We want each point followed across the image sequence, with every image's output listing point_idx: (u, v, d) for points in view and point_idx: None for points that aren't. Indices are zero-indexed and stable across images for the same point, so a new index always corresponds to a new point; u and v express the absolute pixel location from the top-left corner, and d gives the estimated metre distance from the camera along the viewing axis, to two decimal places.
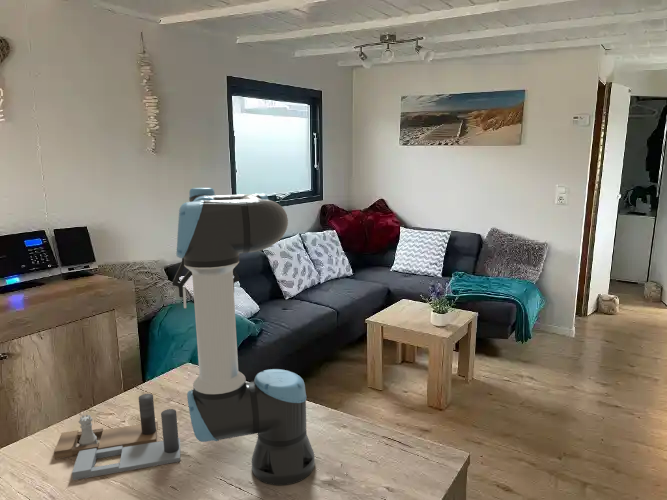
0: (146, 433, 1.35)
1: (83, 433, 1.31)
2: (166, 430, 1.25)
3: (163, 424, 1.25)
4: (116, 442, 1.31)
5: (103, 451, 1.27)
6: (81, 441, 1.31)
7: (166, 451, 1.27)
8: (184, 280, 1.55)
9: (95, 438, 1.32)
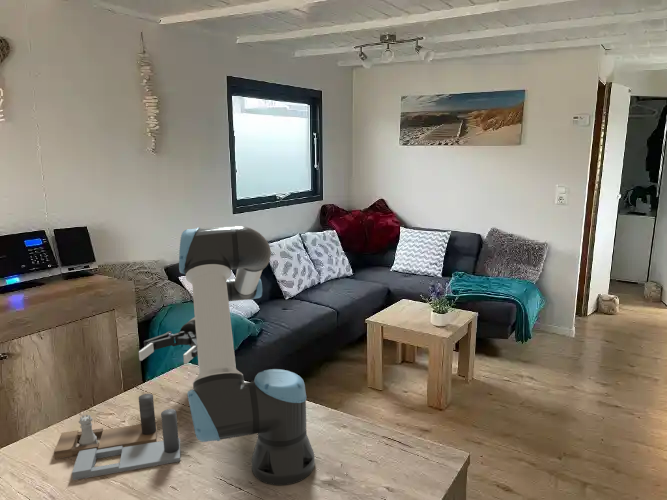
0: (146, 433, 1.35)
1: (83, 433, 1.31)
2: (166, 430, 1.25)
3: (163, 424, 1.25)
4: (116, 442, 1.31)
5: (103, 451, 1.27)
6: (81, 441, 1.31)
7: (166, 451, 1.27)
8: (156, 340, 1.52)
9: (95, 438, 1.32)
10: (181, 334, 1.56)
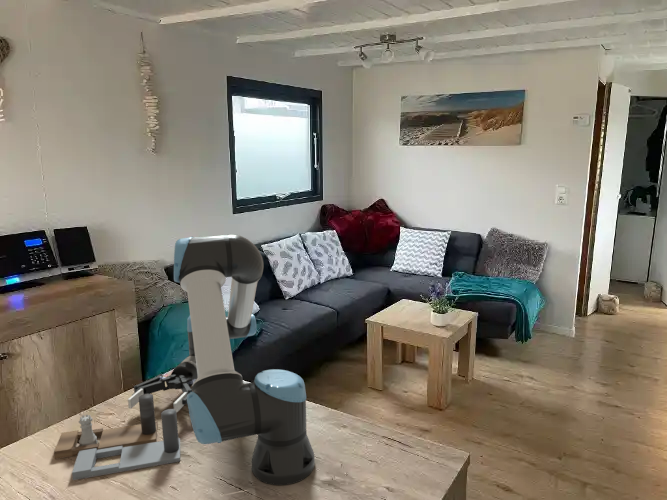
0: (146, 433, 1.35)
1: (83, 433, 1.31)
2: (166, 430, 1.25)
3: (163, 424, 1.25)
4: (116, 442, 1.31)
5: (103, 451, 1.27)
6: (81, 441, 1.31)
7: (166, 451, 1.27)
8: (146, 385, 1.48)
9: (95, 438, 1.32)
10: (172, 378, 1.52)
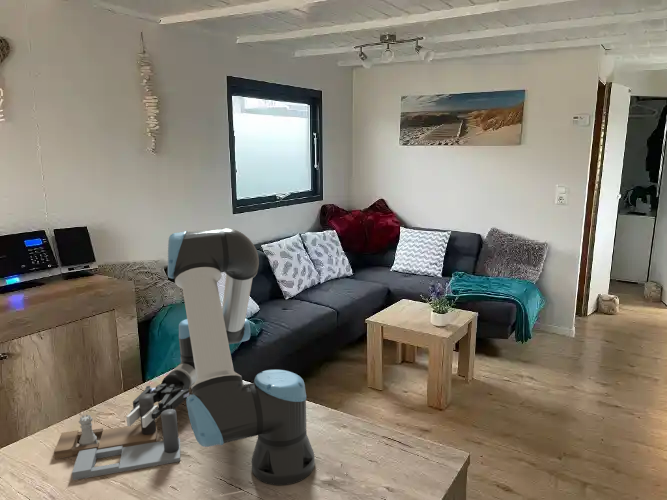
0: (146, 433, 1.35)
1: (83, 433, 1.31)
2: (166, 430, 1.25)
3: (163, 424, 1.25)
4: (116, 442, 1.31)
5: (103, 451, 1.27)
6: (81, 441, 1.31)
7: (166, 451, 1.27)
8: None
9: (95, 438, 1.32)
10: (164, 387, 1.46)
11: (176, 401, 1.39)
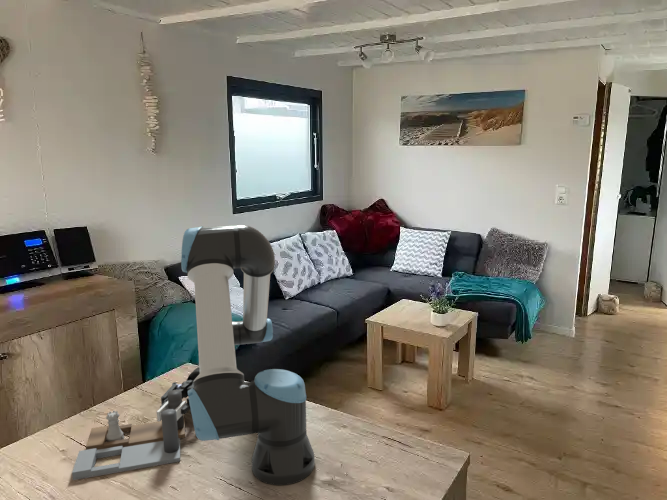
0: None
1: (110, 429, 1.32)
2: (166, 430, 1.25)
3: (163, 424, 1.25)
4: (145, 437, 1.33)
5: (103, 451, 1.27)
6: (108, 437, 1.32)
7: (166, 451, 1.27)
8: None
9: (122, 434, 1.34)
10: (190, 383, 1.48)
11: None
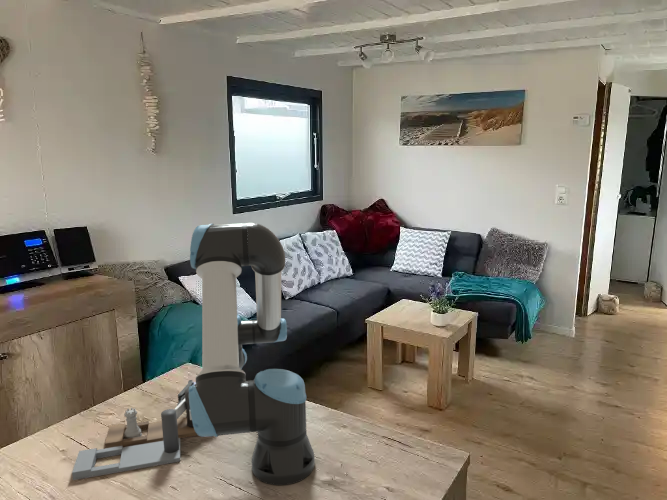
0: (192, 426, 1.38)
1: (128, 426, 1.34)
2: (166, 430, 1.25)
3: (163, 424, 1.25)
4: None
5: (103, 451, 1.27)
6: (126, 434, 1.34)
7: (166, 451, 1.27)
8: None
9: (140, 431, 1.35)
10: None
11: None
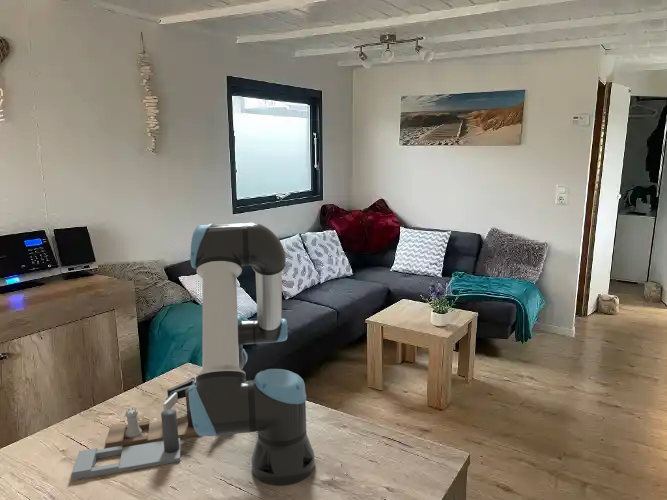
0: (192, 426, 1.38)
1: (129, 426, 1.34)
2: (166, 430, 1.25)
3: (163, 424, 1.25)
4: None
5: (103, 451, 1.27)
6: (127, 434, 1.34)
7: (166, 451, 1.27)
8: (180, 389, 1.45)
9: (140, 431, 1.35)
10: None
11: None
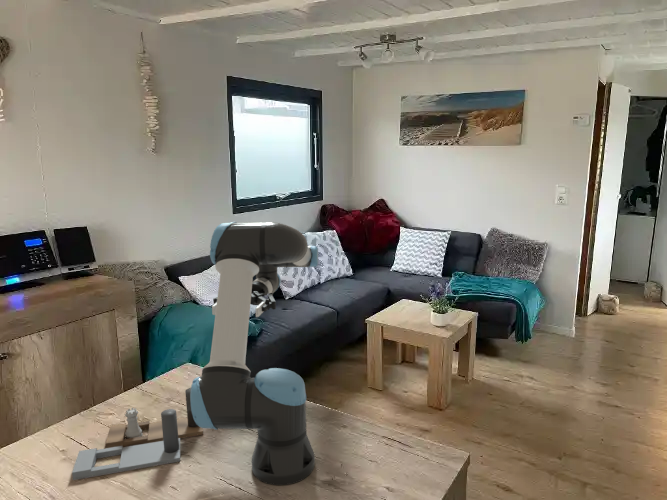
0: (192, 426, 1.38)
1: (129, 426, 1.34)
2: (166, 430, 1.25)
3: (163, 424, 1.25)
4: None
5: (103, 451, 1.27)
6: (127, 434, 1.34)
7: (166, 451, 1.27)
8: None
9: (140, 431, 1.35)
10: None
11: None
